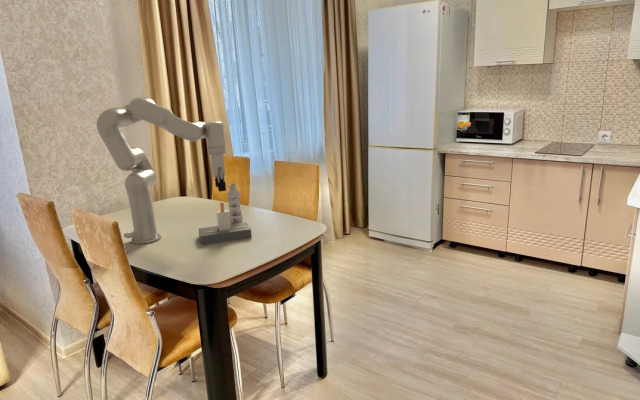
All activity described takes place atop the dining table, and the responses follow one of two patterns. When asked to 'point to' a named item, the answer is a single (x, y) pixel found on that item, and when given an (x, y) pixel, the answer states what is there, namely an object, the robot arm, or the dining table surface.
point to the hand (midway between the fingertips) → (220, 188)
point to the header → (224, 233)
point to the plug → (223, 218)
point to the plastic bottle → (234, 204)
